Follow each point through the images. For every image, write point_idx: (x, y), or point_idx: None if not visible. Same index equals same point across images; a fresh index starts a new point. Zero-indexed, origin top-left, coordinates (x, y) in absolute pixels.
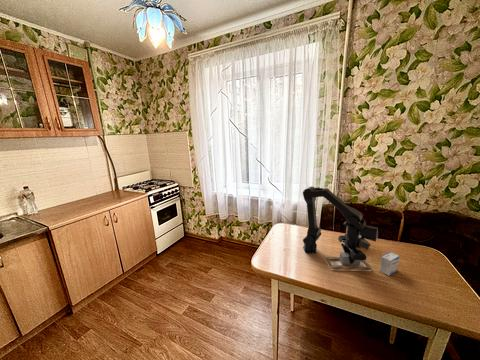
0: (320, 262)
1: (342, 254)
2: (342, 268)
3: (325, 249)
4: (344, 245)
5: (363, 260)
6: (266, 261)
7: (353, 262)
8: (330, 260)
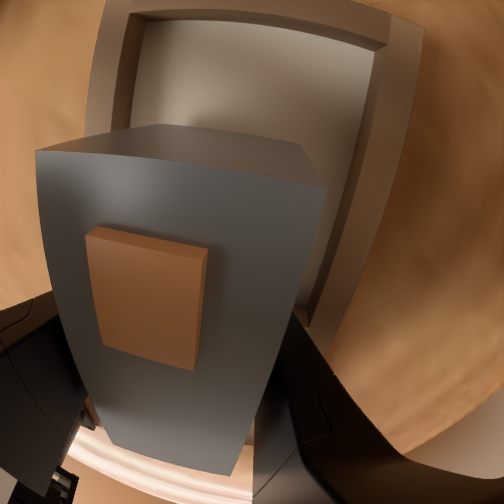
0: None
1: (164, 456)
2: None
3: None
4: (12, 487)
5: (193, 9)
6: (185, 500)
7: (294, 313)
8: None
